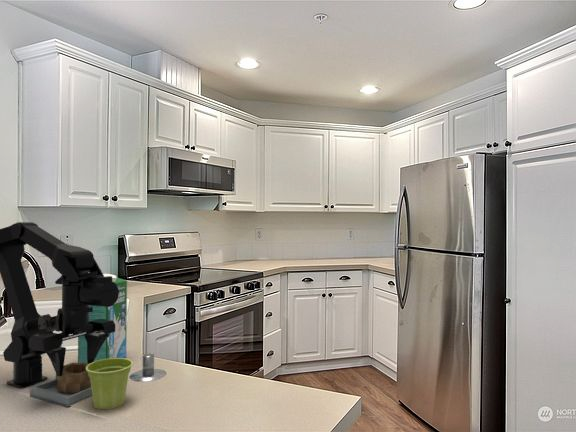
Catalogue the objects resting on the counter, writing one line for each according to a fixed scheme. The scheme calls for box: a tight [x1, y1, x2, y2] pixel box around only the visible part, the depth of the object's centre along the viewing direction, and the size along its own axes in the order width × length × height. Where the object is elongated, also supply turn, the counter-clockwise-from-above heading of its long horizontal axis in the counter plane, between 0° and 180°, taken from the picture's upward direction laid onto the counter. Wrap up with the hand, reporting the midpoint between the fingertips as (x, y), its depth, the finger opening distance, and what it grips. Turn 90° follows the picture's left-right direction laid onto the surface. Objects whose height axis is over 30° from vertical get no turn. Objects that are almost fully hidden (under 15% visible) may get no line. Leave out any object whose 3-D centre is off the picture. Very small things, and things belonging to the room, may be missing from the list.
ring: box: [54, 362, 91, 393], centre depth 98 cm, size 7×9×4 cm
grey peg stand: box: [128, 353, 167, 383], centre depth 107 cm, size 9×9×5 cm
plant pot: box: [86, 357, 134, 410], centre depth 91 cm, size 9×9×9 cm
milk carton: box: [77, 272, 128, 363], centre depth 117 cm, size 9×9×25 cm
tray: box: [29, 377, 92, 408], centre depth 98 cm, size 13×13×2 cm
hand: (75, 370), depth 98 cm, fingers open, 8 cm apart
